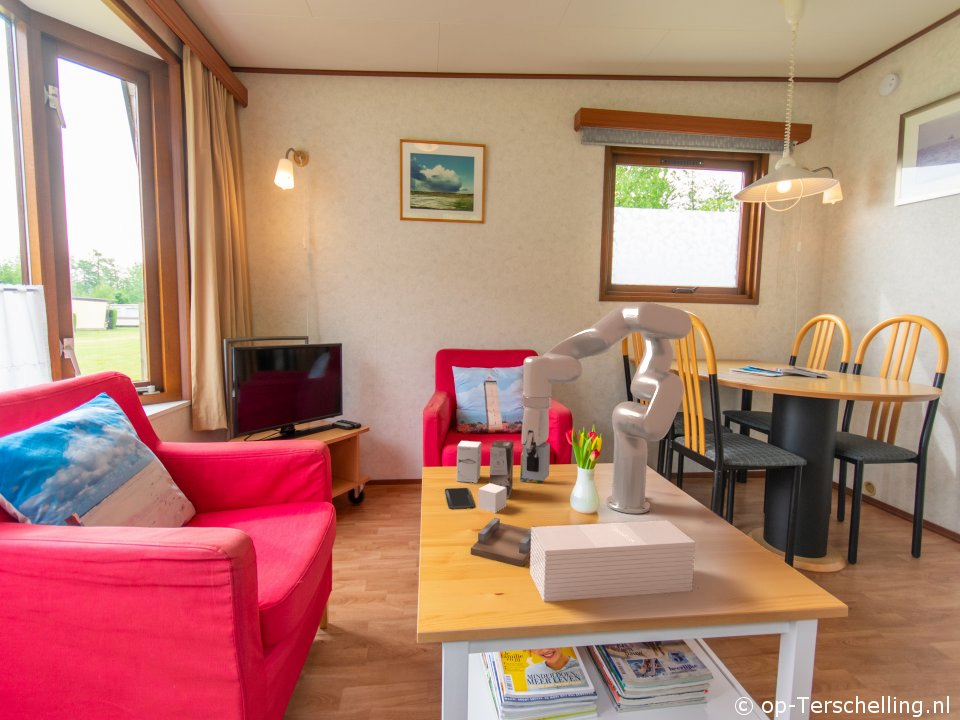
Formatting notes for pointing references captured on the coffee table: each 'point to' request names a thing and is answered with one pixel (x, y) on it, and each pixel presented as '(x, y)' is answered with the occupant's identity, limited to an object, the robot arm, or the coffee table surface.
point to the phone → (459, 498)
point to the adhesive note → (492, 497)
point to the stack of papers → (610, 560)
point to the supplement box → (468, 461)
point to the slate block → (543, 463)
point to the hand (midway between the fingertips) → (536, 467)
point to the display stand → (503, 543)
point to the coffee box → (502, 465)
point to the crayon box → (521, 473)
